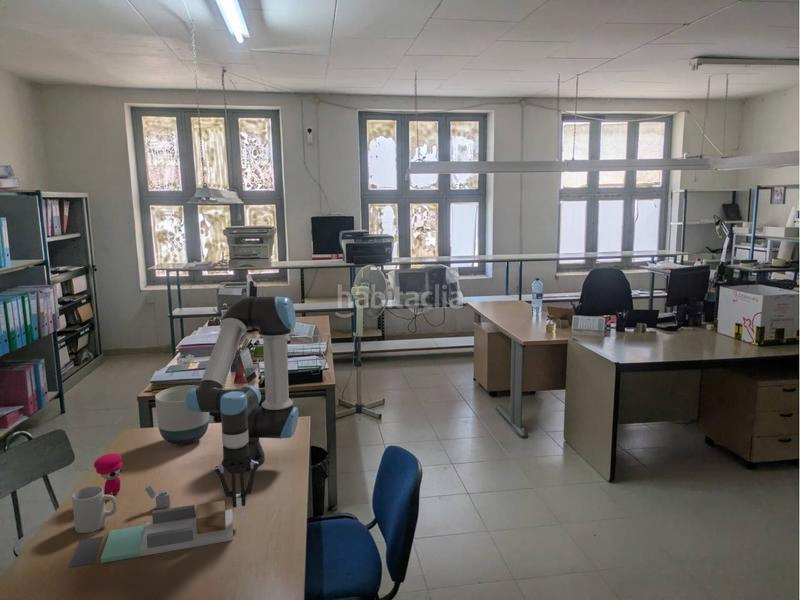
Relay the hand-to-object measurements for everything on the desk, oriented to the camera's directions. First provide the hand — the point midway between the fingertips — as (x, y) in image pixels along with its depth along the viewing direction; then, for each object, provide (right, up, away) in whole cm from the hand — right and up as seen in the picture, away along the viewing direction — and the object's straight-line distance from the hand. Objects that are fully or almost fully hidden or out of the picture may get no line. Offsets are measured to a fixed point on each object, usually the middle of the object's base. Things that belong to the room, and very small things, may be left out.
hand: (239, 515), depth 167 cm
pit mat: (-40, -5, -12) cm, 42 cm away
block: (-8, -2, -2) cm, 8 cm away
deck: (-14, -4, -4) cm, 15 cm away
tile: (-31, -5, -9) cm, 32 cm away
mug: (-44, -3, +1) cm, 45 cm away
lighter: (-30, -2, +11) cm, 32 cm away
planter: (-40, +7, +60) cm, 73 cm away
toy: (-49, -1, +17) cm, 52 cm away
